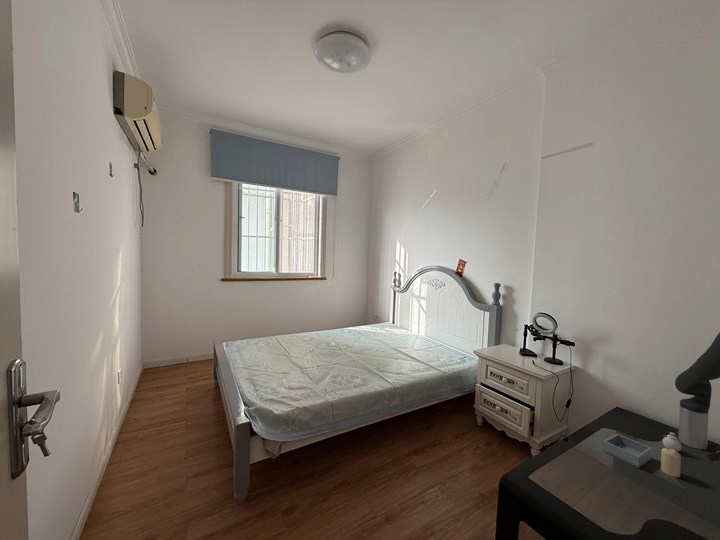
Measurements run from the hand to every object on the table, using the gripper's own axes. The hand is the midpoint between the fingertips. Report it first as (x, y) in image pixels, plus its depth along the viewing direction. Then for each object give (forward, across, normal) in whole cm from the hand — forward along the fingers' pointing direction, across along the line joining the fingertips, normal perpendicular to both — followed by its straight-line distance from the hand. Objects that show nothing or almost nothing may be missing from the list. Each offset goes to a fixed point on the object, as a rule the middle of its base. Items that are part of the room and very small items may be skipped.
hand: (712, 454), depth 112 cm
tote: (+28, +2, -7) cm, 29 cm away
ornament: (+22, -22, -1) cm, 31 cm away
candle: (+18, 0, +2) cm, 18 cm away
